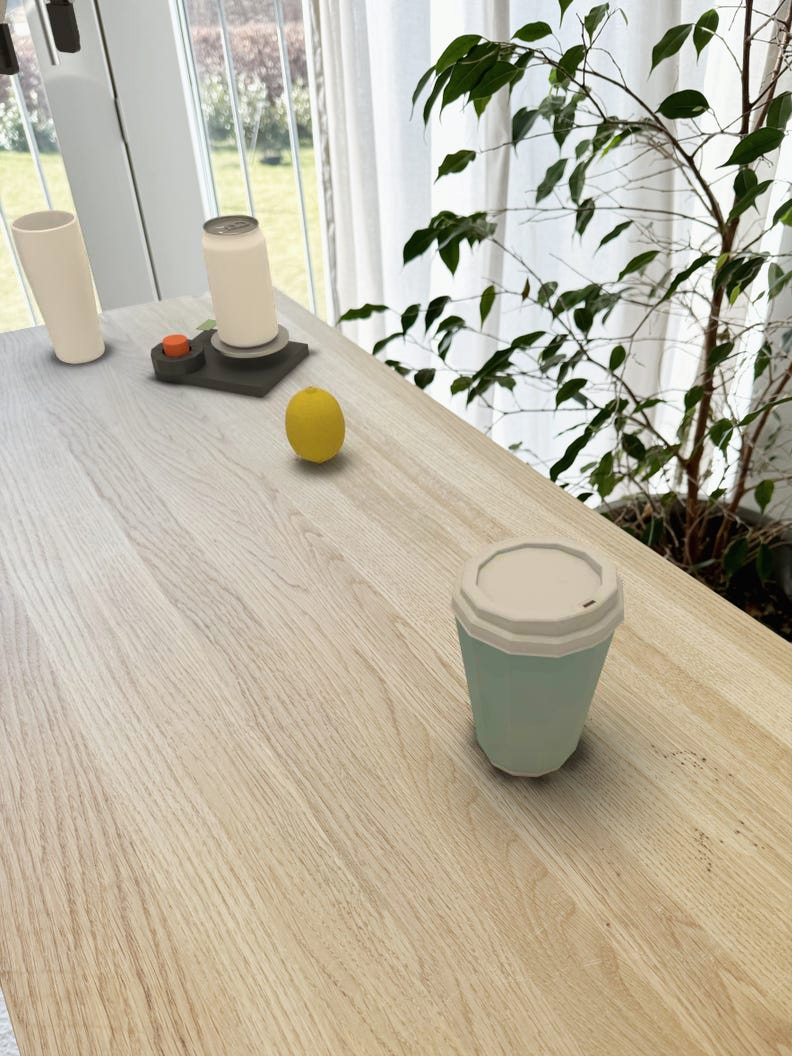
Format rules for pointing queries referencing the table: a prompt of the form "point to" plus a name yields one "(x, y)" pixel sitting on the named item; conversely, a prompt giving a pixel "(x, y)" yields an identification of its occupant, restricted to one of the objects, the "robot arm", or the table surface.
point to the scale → (226, 367)
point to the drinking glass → (60, 282)
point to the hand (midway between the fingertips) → (39, 62)
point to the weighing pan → (234, 352)
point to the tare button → (175, 345)
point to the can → (239, 281)
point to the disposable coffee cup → (534, 645)
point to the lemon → (315, 424)
